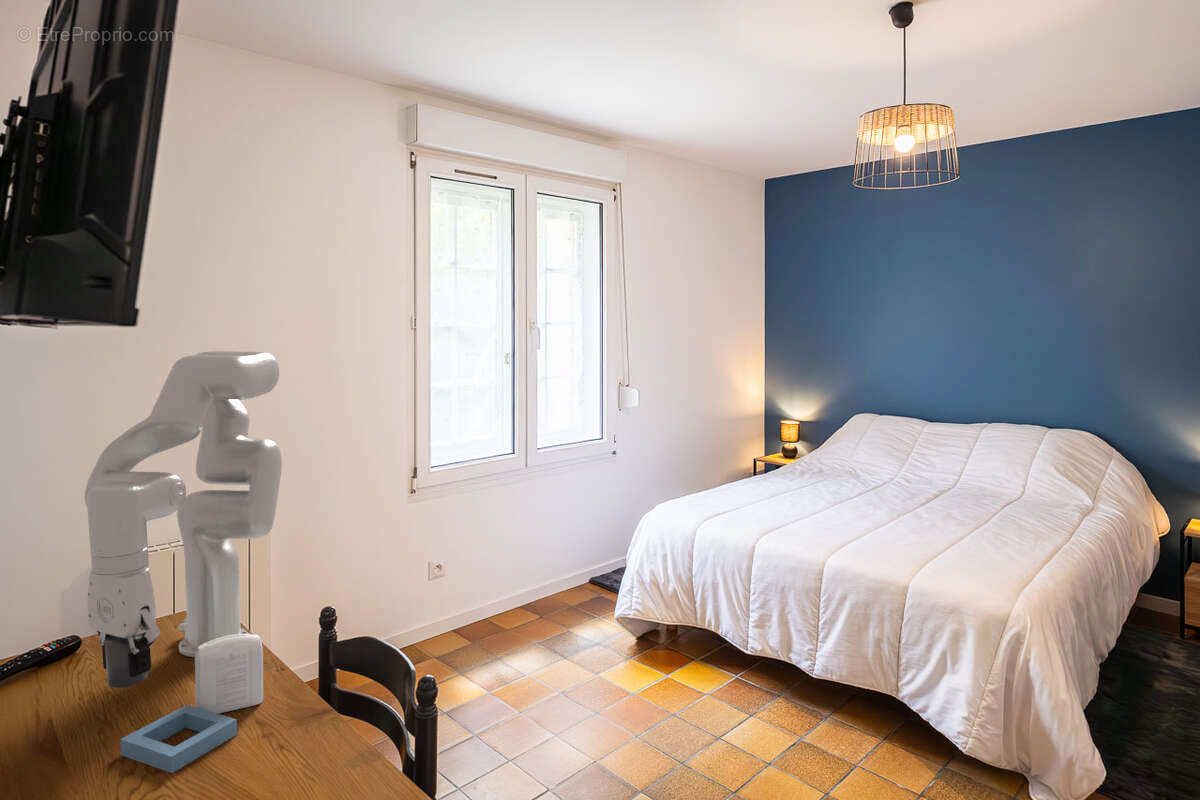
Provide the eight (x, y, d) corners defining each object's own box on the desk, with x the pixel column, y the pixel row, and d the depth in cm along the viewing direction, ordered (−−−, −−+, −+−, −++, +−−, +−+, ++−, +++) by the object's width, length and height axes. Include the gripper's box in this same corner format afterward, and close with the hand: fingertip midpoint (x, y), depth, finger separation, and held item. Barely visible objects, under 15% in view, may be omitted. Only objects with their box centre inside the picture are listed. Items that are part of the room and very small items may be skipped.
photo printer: (261, 693, 126) (260, 625, 125) (265, 704, 123) (264, 634, 122) (194, 709, 121) (192, 638, 120) (197, 721, 117) (194, 648, 116)
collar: (120, 755, 108) (120, 739, 107) (187, 719, 118) (187, 704, 117) (172, 773, 103) (171, 756, 103) (237, 734, 114) (236, 719, 113)
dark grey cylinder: (99, 683, 115) (96, 641, 114) (133, 667, 120) (130, 627, 119) (122, 690, 113) (119, 648, 112) (156, 674, 118) (153, 633, 117)
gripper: (60, 560, 114) (68, 668, 116) (134, 577, 107) (141, 692, 109) (108, 546, 120) (115, 649, 123) (180, 561, 114) (186, 669, 116)
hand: (127, 668), depth 116 cm, fingers closed on dark grey cylinder, 5 cm apart
